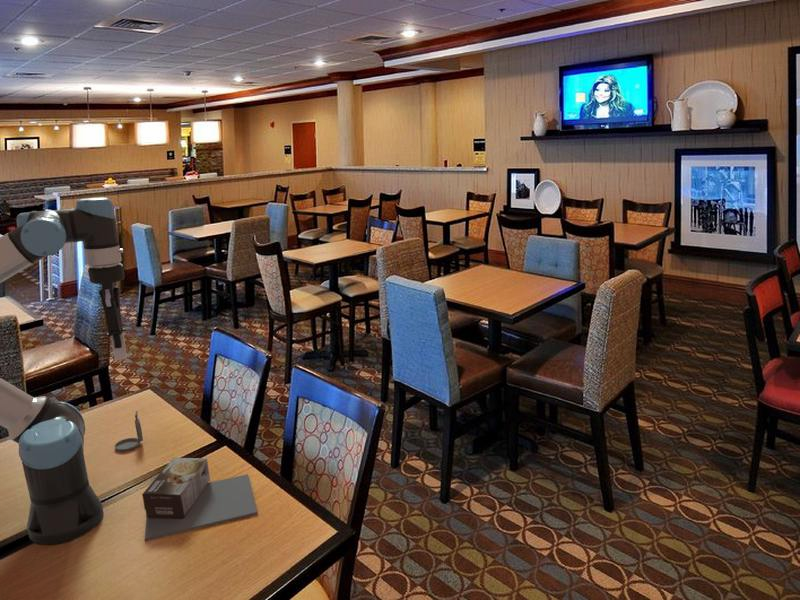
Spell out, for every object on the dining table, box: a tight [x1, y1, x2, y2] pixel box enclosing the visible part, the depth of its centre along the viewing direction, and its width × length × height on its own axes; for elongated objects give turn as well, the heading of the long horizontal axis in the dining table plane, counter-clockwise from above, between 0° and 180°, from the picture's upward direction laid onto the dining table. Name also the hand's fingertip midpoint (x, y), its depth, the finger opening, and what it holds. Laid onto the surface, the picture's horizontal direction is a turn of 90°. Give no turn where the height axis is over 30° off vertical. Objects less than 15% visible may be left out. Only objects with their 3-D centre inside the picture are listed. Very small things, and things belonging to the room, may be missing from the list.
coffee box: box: [141, 457, 211, 518], centre depth 143 cm, size 9×6×16 cm
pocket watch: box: [114, 410, 144, 452], centre depth 170 cm, size 8×8×10 cm
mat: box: [144, 473, 259, 542], centre depth 142 cm, size 24×18×1 cm
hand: (121, 358), depth 147 cm, fingers closed
